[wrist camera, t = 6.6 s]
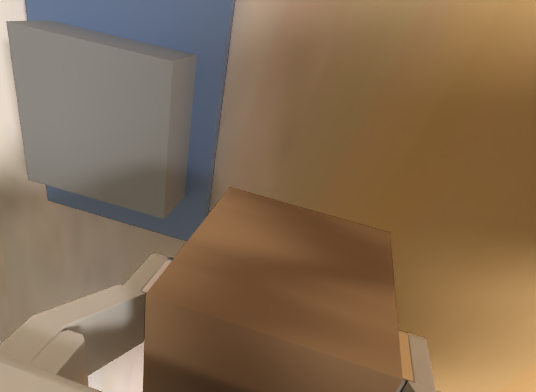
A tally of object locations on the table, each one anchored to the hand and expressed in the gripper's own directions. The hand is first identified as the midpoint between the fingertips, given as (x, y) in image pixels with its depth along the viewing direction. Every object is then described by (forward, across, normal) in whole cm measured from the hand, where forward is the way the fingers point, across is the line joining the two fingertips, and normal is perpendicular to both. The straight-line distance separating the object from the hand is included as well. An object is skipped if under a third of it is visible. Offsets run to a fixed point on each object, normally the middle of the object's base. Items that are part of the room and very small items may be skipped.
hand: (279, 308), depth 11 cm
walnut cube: (+2, 0, 0) cm, 2 cm away
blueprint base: (+13, +13, 0) cm, 18 cm away
